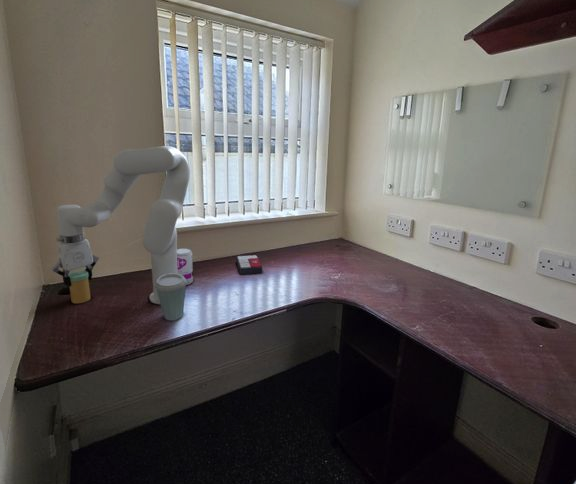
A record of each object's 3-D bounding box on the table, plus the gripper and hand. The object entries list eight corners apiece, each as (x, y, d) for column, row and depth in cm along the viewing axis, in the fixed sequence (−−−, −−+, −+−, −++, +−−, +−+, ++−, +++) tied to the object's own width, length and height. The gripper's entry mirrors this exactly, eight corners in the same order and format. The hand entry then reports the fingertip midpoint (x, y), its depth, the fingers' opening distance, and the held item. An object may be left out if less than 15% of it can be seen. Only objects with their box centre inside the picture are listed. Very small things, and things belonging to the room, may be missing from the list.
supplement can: (187, 287, 138) (186, 255, 134) (170, 285, 140) (168, 252, 136) (196, 279, 146) (195, 249, 142) (179, 277, 147) (178, 247, 143)
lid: (91, 278, 122) (90, 274, 122) (70, 283, 117) (69, 279, 117) (85, 272, 127) (85, 269, 126) (65, 277, 122) (64, 273, 121)
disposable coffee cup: (192, 318, 114) (190, 280, 110) (161, 327, 108) (158, 287, 104) (183, 306, 123) (181, 269, 119) (153, 313, 117) (150, 275, 113)
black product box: (240, 267, 153) (236, 255, 166) (239, 275, 154) (236, 262, 168) (262, 265, 156) (257, 254, 169) (262, 273, 157) (256, 261, 171)
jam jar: (93, 299, 124) (89, 275, 122) (73, 305, 120) (70, 279, 117) (87, 294, 129) (84, 270, 126) (69, 299, 124) (65, 274, 121)
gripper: (50, 245, 109) (57, 293, 113) (102, 235, 123) (106, 277, 127) (41, 241, 113) (48, 287, 117) (92, 231, 127) (97, 272, 131)
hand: (78, 281), depth 122 cm, fingers closed on lid, 6 cm apart
